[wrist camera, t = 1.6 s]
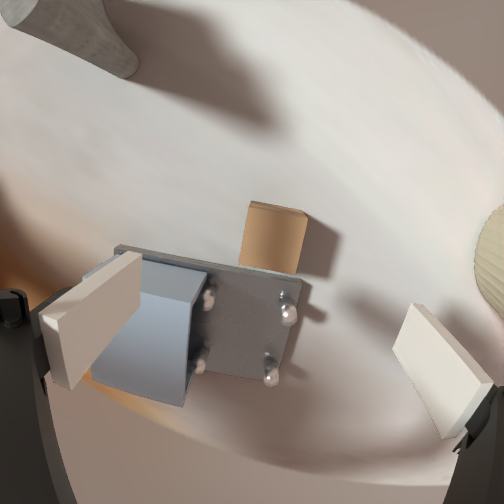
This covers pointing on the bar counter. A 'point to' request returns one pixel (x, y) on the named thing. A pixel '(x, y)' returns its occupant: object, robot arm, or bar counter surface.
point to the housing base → (236, 317)
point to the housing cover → (153, 336)
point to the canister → (491, 260)
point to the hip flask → (73, 31)
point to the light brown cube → (273, 237)
